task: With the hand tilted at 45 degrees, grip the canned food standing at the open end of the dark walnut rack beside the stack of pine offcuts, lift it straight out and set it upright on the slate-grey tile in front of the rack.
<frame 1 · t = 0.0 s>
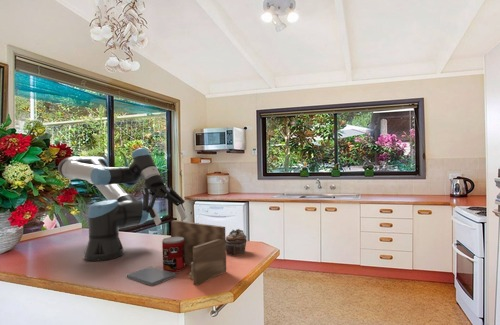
hand: (172, 221, 128), 15 cm above the counter, tool tilted 35°, fingers open, 13 cm apart
canned food: (174, 269, 115), on the counter
cupcake: (235, 253, 134), on the counter
walnut rack: (184, 271, 112), on the counter
slate tile: (151, 276, 107), on the counter
magazine: (194, 248, 144), on the counter
offcut stack: (203, 275, 107), on the counter
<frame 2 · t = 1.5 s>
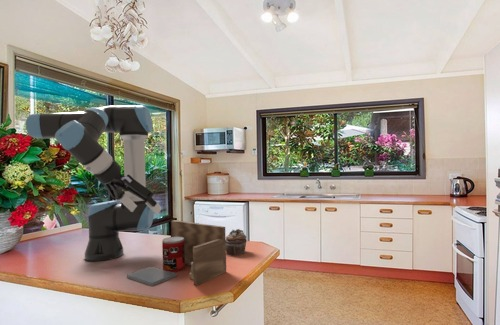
hand: (146, 210, 106), 23 cm above the counter, tool tilted 45°, fingers open, 13 cm apart
nothing on the counter moved.
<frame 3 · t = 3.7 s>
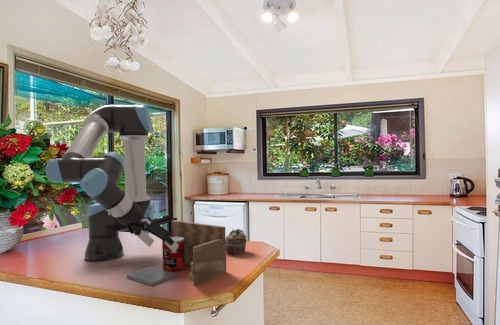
hand: (163, 245, 110), 10 cm above the counter, tool tilted 45°, fingers open, 13 cm apart
nothing on the counter moved.
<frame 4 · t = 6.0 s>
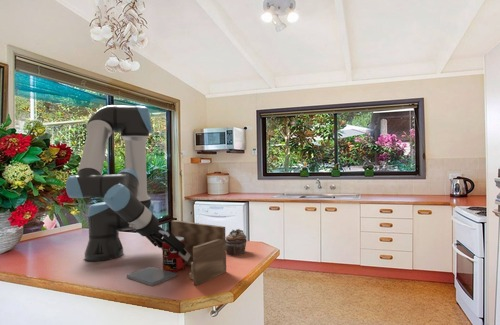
hand: (180, 256, 118), 4 cm above the counter, tool tilted 45°, fingers closed on canned food, 8 cm apart
canned food: (174, 269, 115), on the counter, touching gripper
everything else where it was.
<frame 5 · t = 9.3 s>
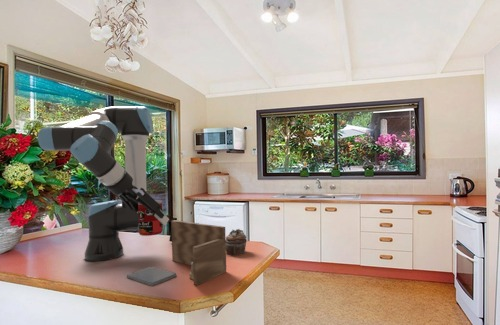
hand: (158, 221, 110), 19 cm above the counter, tool tilted 45°, fingers closed on canned food, 8 cm apart
canned food: (150, 233, 107), point 15 cm above the counter, touching gripper
everything else where it was.
when the fingers open (6 cm above the counter, at t = 12.7 s): canned food drops 1 cm, resting on slate tile.
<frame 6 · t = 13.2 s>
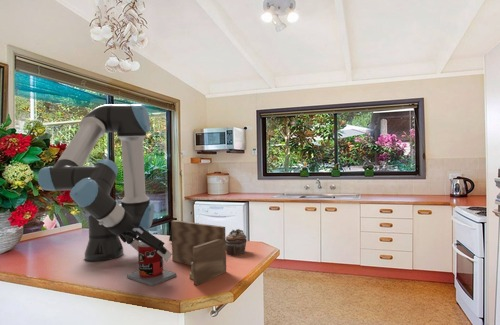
hand: (156, 254, 109), 7 cm above the counter, tool tilted 45°, fingers open, 13 cm apart
canned food: (151, 274, 107), point 1 cm above the counter, touching slate tile
everything else where it was.
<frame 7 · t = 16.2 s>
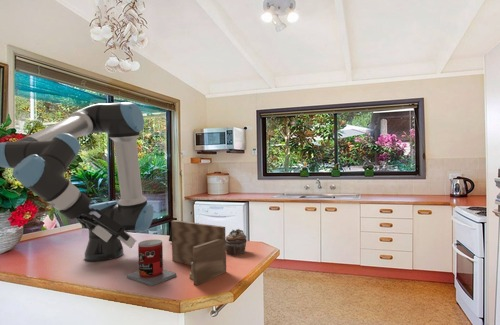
hand: (120, 241, 100), 14 cm above the counter, tool tilted 45°, fingers open, 13 cm apart
nothing on the counter moved.
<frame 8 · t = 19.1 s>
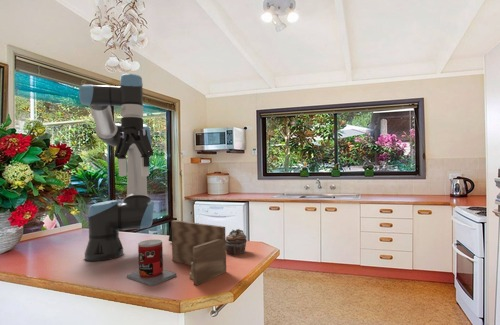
hand: (133, 176, 112), 35 cm above the counter, tool pointing down, fingers open, 13 cm apart
at the end: canned food inside the target area on the slate tile (0.1 cm from its centre), point 0.8 cm above the slate tile's base; canned food tilted 0°; the gripper is holding nothing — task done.
